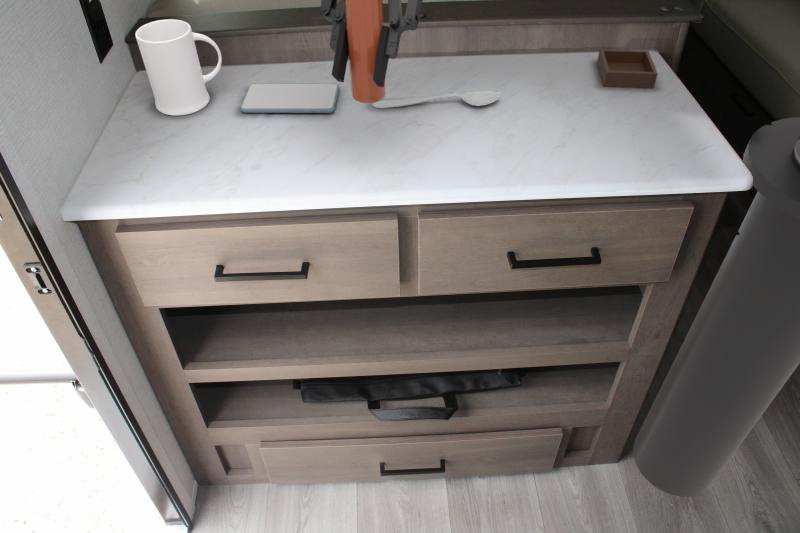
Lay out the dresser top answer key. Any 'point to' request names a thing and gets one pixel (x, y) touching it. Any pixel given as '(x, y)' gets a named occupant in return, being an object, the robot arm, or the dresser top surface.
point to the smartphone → (290, 98)
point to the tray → (626, 68)
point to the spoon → (469, 97)
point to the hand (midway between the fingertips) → (357, 80)
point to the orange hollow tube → (364, 47)
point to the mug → (175, 66)
